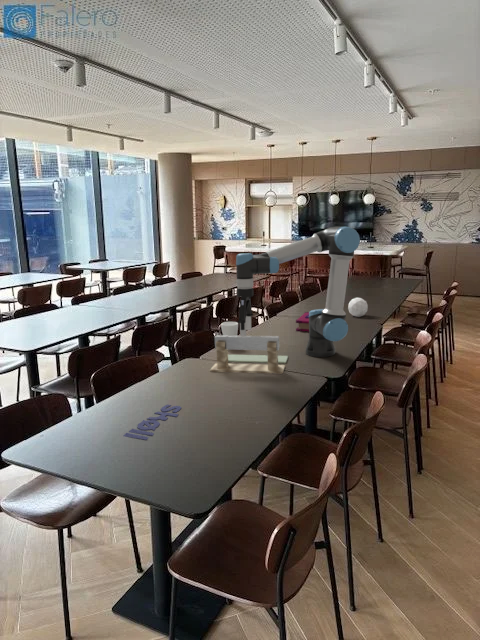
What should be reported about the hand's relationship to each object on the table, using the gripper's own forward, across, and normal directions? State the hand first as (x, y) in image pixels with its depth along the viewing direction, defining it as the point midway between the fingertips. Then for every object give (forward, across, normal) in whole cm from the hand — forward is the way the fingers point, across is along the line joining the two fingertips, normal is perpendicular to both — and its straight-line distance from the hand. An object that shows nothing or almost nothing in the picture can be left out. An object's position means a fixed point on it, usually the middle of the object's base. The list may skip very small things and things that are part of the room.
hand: (245, 333), depth 220 cm
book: (+18, -90, +29) cm, 96 cm away
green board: (+18, -16, 0) cm, 24 cm away
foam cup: (+18, -40, -16) cm, 47 cm away
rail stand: (+18, 0, 0) cm, 18 cm away
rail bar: (+8, 0, 0) cm, 8 cm away
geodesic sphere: (+16, -124, +56) cm, 137 cm away
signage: (+19, +61, -22) cm, 67 cm away
